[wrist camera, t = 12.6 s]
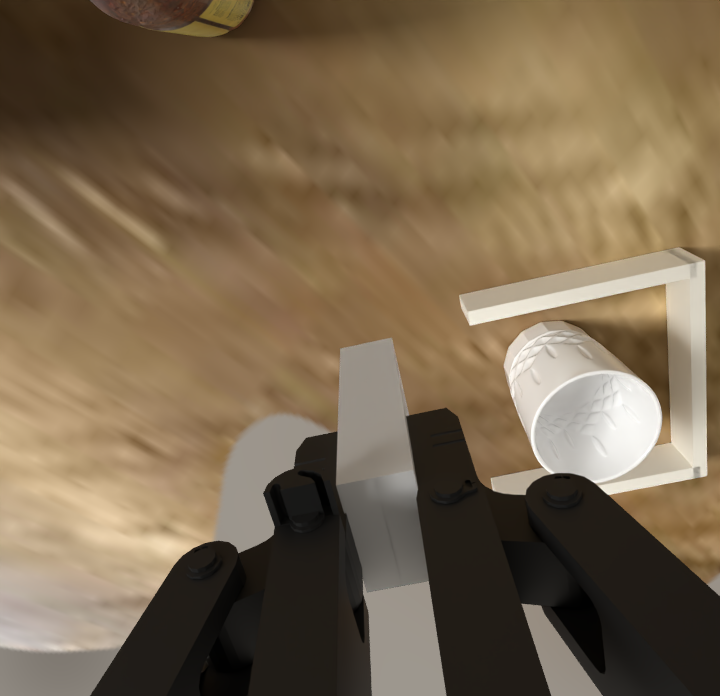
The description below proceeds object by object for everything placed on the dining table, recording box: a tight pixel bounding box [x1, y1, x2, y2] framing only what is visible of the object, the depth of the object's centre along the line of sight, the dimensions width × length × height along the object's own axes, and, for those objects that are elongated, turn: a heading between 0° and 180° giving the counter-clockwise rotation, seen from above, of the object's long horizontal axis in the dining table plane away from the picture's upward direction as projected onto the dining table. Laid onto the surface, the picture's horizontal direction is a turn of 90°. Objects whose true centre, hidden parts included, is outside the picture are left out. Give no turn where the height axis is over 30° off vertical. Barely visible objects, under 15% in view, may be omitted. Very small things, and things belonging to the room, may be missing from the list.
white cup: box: [504, 321, 662, 483], centre depth 43 cm, size 8×8×10 cm
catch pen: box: [459, 247, 707, 495], centre depth 46 cm, size 16×17×4 cm
